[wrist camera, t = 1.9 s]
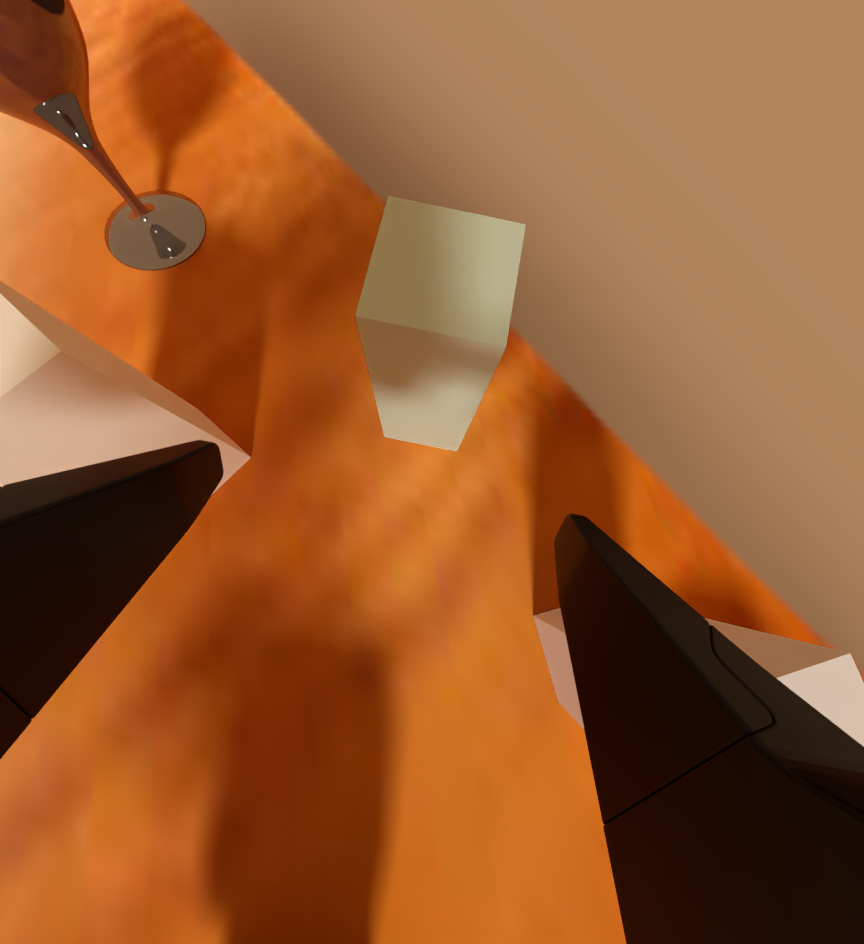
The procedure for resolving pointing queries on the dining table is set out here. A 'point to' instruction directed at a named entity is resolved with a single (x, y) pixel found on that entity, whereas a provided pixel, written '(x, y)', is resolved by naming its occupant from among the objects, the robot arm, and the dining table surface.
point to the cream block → (82, 401)
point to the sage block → (436, 316)
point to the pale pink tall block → (790, 661)
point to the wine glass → (86, 129)
